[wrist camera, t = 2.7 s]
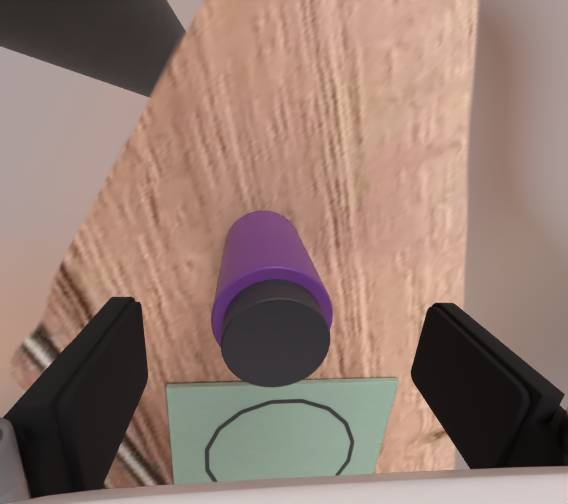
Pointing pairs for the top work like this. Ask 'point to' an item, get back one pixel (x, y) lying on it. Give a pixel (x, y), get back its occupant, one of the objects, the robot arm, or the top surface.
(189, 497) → the robot arm
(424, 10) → the top surface
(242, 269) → the cylinder
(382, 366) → the top surface
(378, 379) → the sketch card
